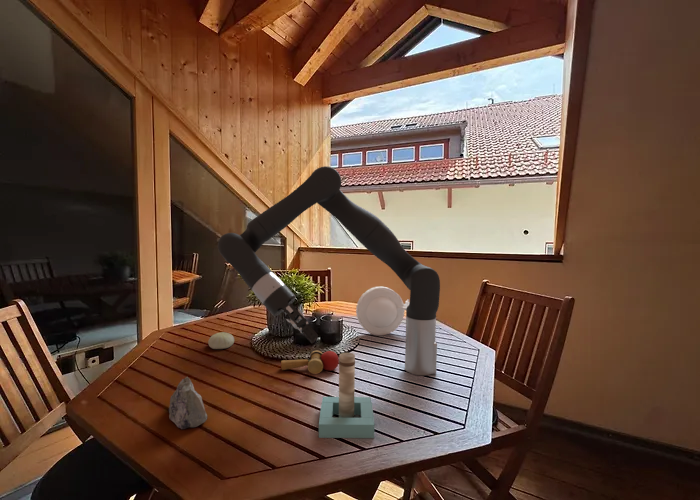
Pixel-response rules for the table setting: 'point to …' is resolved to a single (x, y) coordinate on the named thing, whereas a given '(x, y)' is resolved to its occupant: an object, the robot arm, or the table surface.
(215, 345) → the sea urchin shell
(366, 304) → the tracked sphere vehicle
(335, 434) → the teal square frame
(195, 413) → the mineral rock
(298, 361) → the kendama
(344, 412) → the beige banded cylinder
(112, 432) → the table surface
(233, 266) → the robot arm
